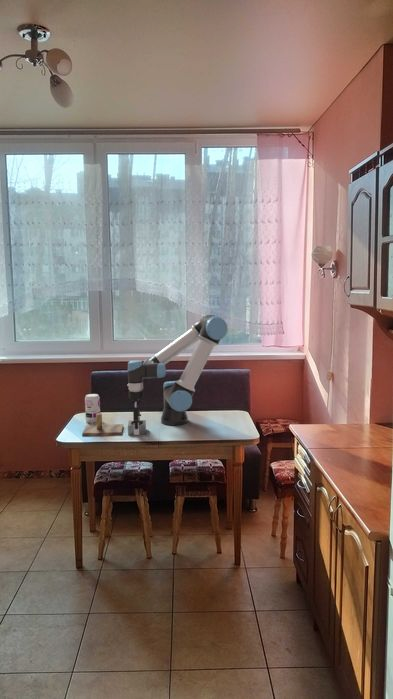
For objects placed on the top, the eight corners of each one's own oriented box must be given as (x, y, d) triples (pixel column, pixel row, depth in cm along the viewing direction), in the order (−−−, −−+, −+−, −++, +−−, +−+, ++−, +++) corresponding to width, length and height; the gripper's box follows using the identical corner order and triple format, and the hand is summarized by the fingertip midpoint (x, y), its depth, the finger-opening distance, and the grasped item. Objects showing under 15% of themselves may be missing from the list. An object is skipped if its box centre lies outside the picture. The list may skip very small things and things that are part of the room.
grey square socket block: (146, 429, 268) (145, 420, 268) (145, 434, 259) (145, 425, 259) (129, 429, 268) (128, 420, 267) (128, 435, 259) (127, 425, 258)
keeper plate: (123, 426, 273) (122, 409, 271) (121, 434, 259) (120, 417, 258) (86, 427, 272) (85, 410, 270) (82, 436, 258) (81, 418, 256)
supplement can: (100, 418, 289) (99, 393, 287) (100, 422, 281) (99, 396, 279) (86, 419, 288) (85, 393, 286) (85, 423, 280) (84, 397, 278)
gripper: (129, 385, 271) (131, 425, 274) (127, 395, 249) (128, 438, 252) (143, 385, 271) (145, 425, 275) (142, 395, 249) (143, 438, 253)
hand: (137, 431), depth 263 cm, fingers open, 10 cm apart
